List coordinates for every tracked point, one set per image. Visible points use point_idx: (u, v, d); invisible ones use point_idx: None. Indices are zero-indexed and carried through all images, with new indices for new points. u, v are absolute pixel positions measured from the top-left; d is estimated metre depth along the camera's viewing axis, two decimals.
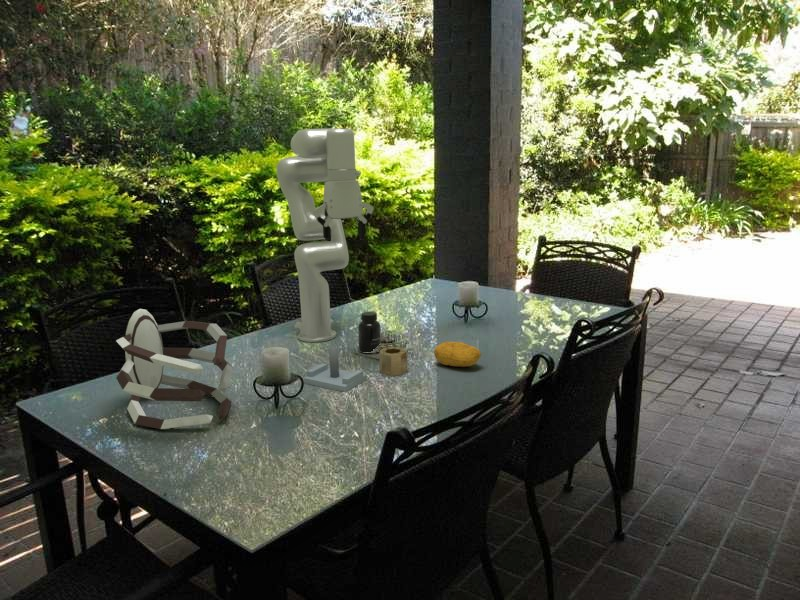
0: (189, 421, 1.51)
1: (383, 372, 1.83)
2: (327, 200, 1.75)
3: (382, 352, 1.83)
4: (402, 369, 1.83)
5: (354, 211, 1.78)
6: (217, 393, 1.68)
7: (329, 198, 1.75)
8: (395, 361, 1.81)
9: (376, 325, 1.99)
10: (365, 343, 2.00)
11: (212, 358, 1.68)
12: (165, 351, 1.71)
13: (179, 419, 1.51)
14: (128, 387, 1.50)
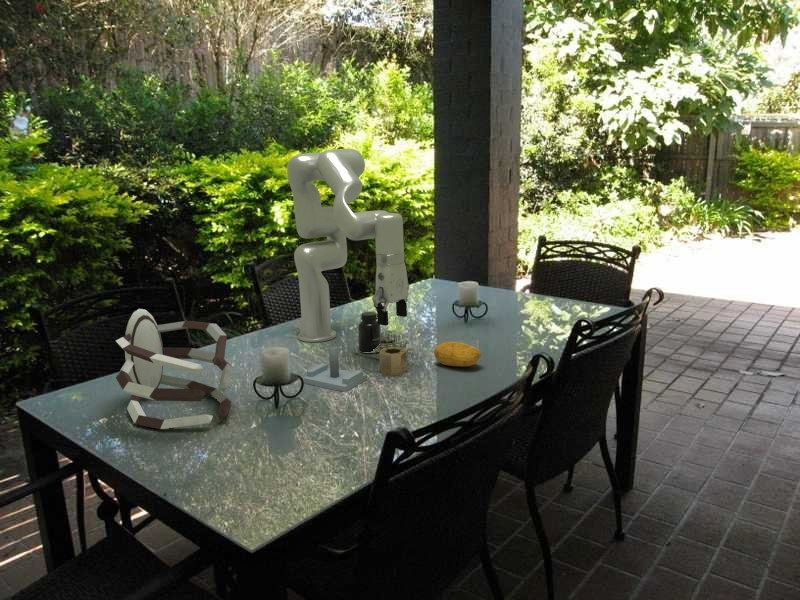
0: (189, 421, 1.51)
1: (383, 372, 1.83)
2: None
3: (382, 352, 1.83)
4: (402, 369, 1.83)
5: None
6: (217, 393, 1.68)
7: None
8: (395, 361, 1.81)
9: (376, 325, 1.99)
10: (365, 343, 2.00)
11: (212, 358, 1.68)
12: (165, 351, 1.71)
13: (178, 419, 1.51)
14: (128, 387, 1.50)
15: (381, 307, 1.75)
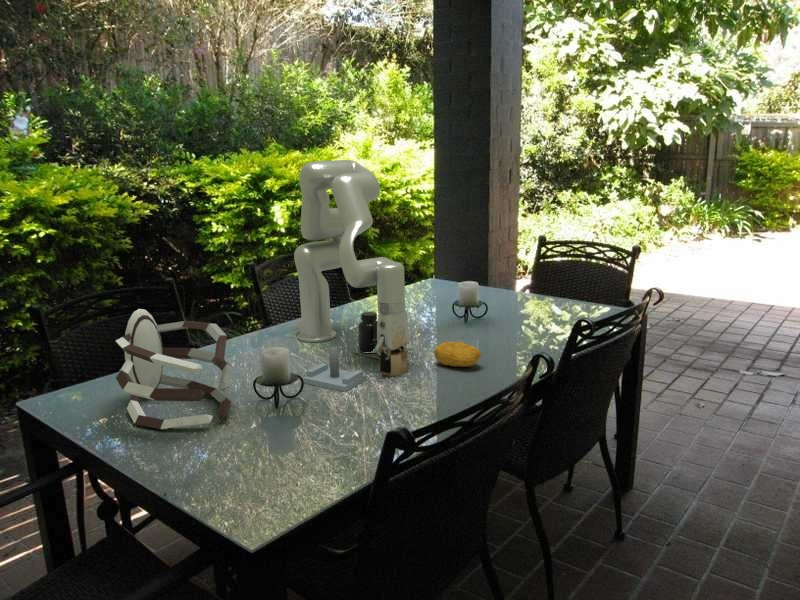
0: (189, 421, 1.51)
1: (383, 372, 1.83)
2: None
3: None
4: (402, 369, 1.83)
5: None
6: (216, 393, 1.68)
7: None
8: (395, 361, 1.81)
9: (376, 325, 1.99)
10: (365, 343, 2.00)
11: (212, 358, 1.68)
12: (164, 351, 1.71)
13: (178, 419, 1.51)
14: (128, 387, 1.50)
15: (384, 356, 1.79)
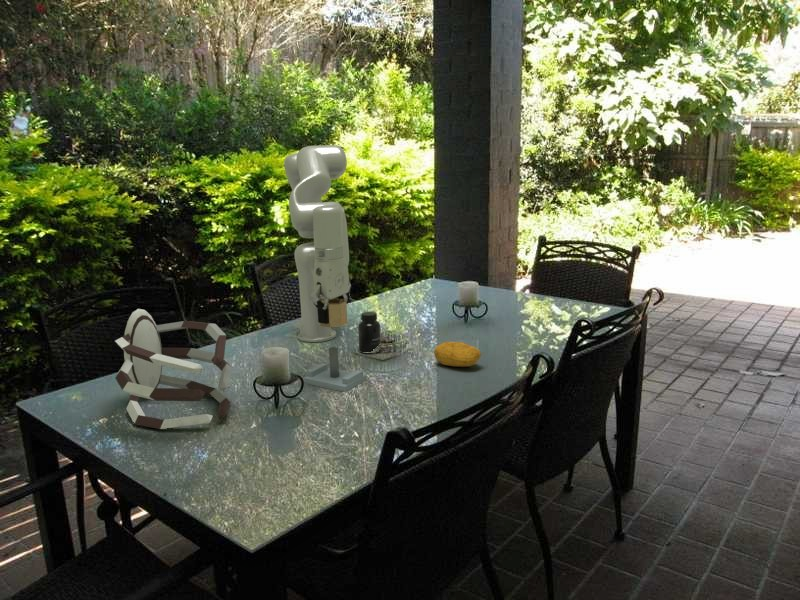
0: (189, 421, 1.51)
1: (321, 323, 1.73)
2: None
3: None
4: (341, 320, 1.72)
5: None
6: (216, 393, 1.68)
7: None
8: (333, 312, 1.71)
9: (376, 325, 1.99)
10: (365, 343, 2.00)
11: (211, 358, 1.68)
12: (164, 351, 1.71)
13: (178, 419, 1.51)
14: (128, 387, 1.50)
15: (321, 305, 1.69)
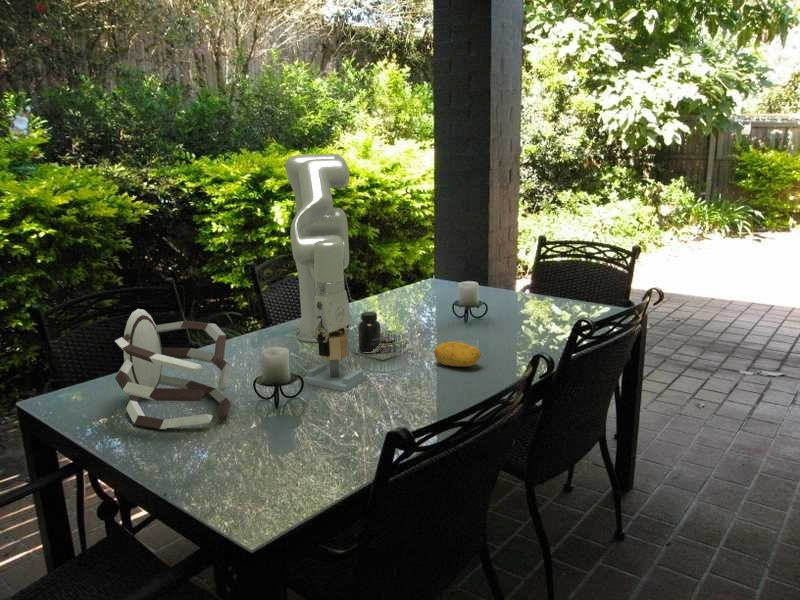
0: (189, 421, 1.51)
1: (322, 356, 1.75)
2: None
3: None
4: (342, 353, 1.74)
5: None
6: (216, 393, 1.68)
7: None
8: (334, 344, 1.73)
9: (376, 325, 1.99)
10: (365, 343, 2.00)
11: (211, 358, 1.68)
12: (163, 351, 1.71)
13: (178, 419, 1.51)
14: (127, 387, 1.50)
15: (322, 338, 1.71)
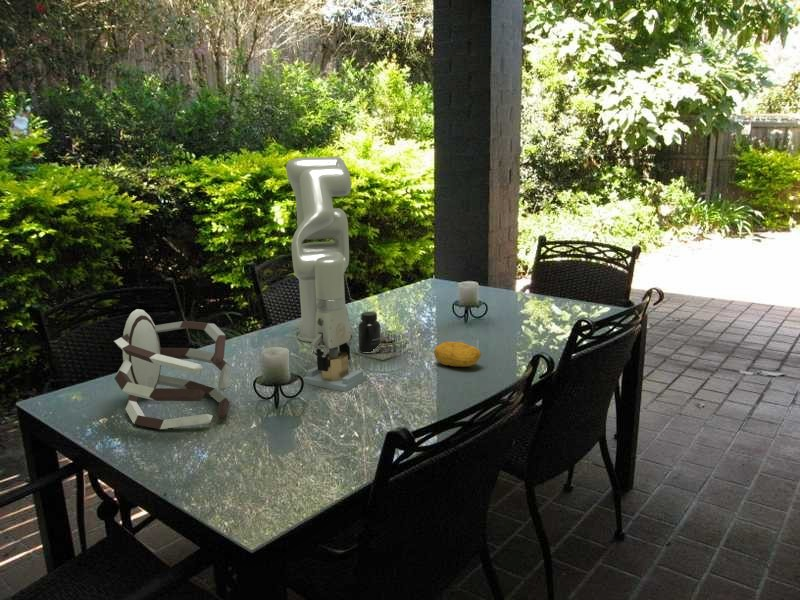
0: (189, 421, 1.51)
1: (323, 377, 1.76)
2: None
3: None
4: (343, 374, 1.76)
5: None
6: (215, 393, 1.68)
7: None
8: (335, 366, 1.75)
9: (376, 325, 1.99)
10: (365, 343, 2.00)
11: (210, 358, 1.68)
12: (162, 352, 1.70)
13: (178, 419, 1.51)
14: (127, 387, 1.50)
15: (320, 353, 1.71)
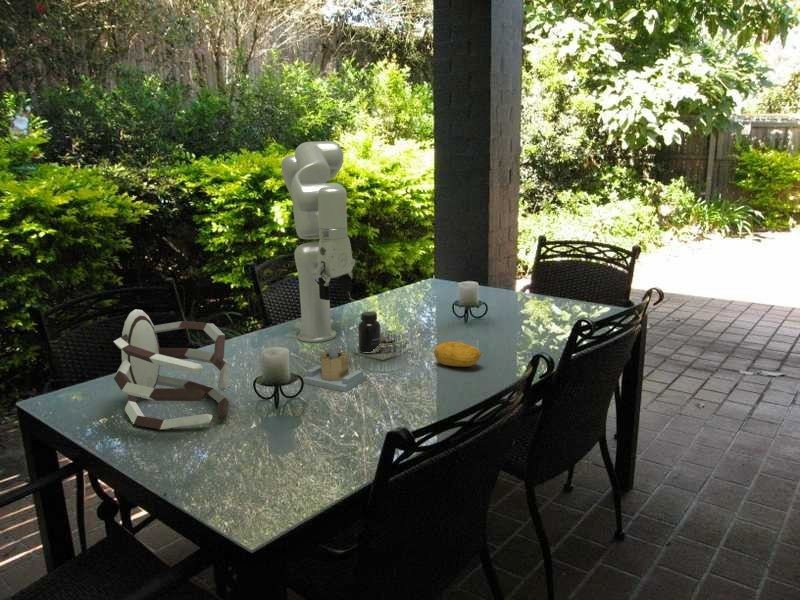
0: (189, 421, 1.51)
1: (323, 377, 1.76)
2: None
3: (322, 356, 1.77)
4: (343, 374, 1.76)
5: None
6: (214, 392, 1.68)
7: None
8: (335, 366, 1.75)
9: (376, 325, 1.99)
10: (365, 343, 2.00)
11: (209, 358, 1.68)
12: (161, 352, 1.70)
13: (178, 419, 1.51)
14: (127, 387, 1.50)
15: (322, 282, 1.74)
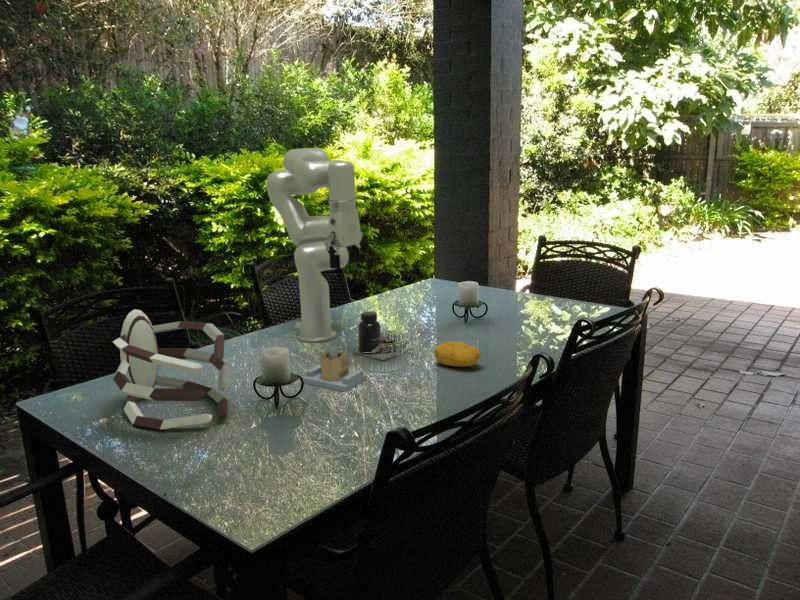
0: (189, 421, 1.51)
1: (323, 377, 1.76)
2: None
3: (322, 356, 1.77)
4: (343, 374, 1.76)
5: None
6: (213, 392, 1.68)
7: None
8: (335, 366, 1.75)
9: (376, 325, 1.99)
10: (365, 343, 2.00)
11: (208, 358, 1.68)
12: (160, 352, 1.70)
13: (178, 419, 1.51)
14: (127, 387, 1.50)
15: (333, 251, 1.84)
